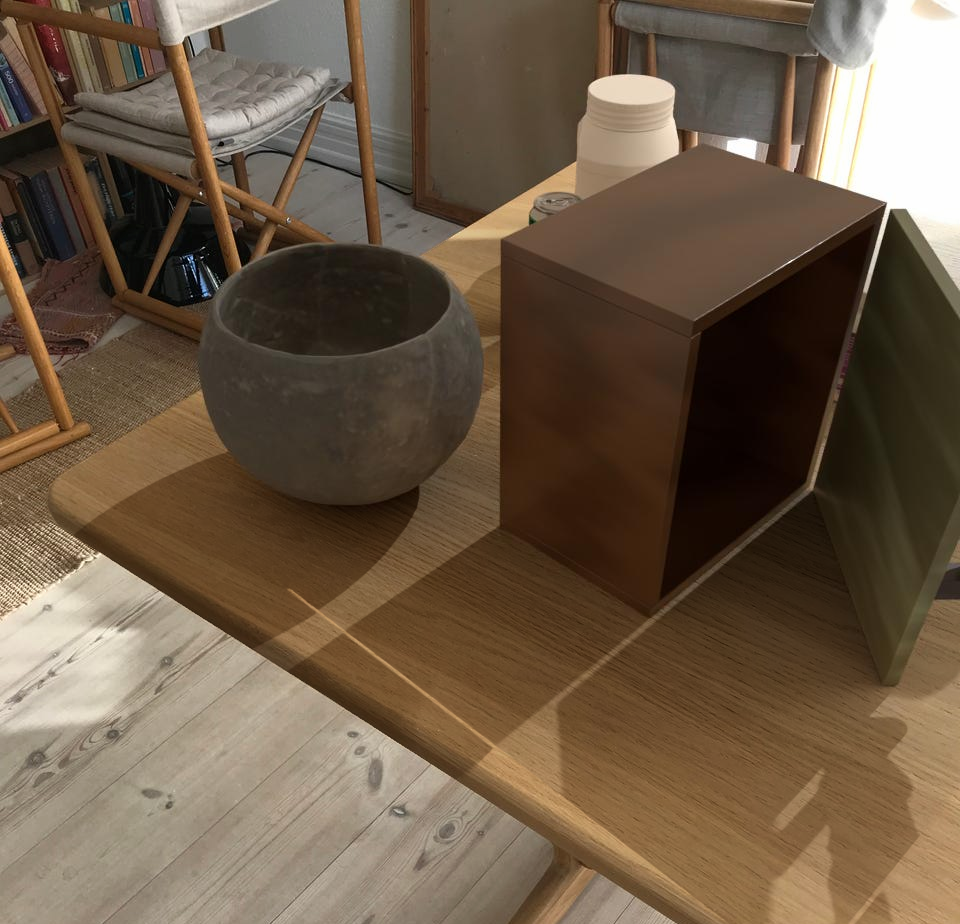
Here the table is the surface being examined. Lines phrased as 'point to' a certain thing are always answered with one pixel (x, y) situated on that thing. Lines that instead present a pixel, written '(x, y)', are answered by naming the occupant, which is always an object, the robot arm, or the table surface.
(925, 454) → the door
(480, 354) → the bowl
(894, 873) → the table surface
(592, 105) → the jar
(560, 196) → the soda can
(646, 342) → the cupboard
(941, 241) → the table surface
